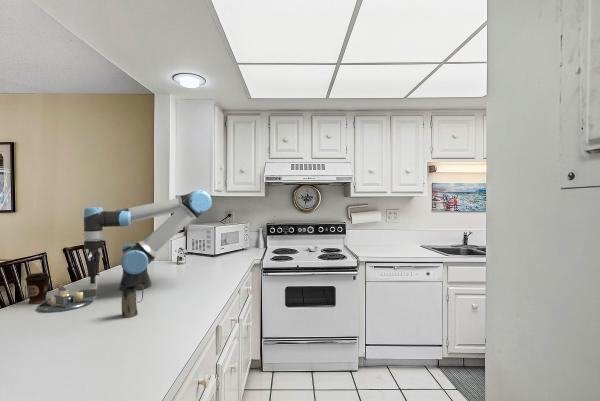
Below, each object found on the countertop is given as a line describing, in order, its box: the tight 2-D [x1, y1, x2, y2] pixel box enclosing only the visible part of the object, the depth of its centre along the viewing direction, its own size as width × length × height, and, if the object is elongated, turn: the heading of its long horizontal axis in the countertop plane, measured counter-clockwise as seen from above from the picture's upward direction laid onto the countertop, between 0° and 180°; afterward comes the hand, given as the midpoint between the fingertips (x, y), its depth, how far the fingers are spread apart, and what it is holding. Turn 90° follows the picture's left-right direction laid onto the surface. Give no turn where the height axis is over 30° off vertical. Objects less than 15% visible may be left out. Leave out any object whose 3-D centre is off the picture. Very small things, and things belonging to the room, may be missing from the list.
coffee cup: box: [24, 272, 50, 305], centre depth 149 cm, size 9×8×13 cm
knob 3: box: [74, 286, 98, 302], centre depth 147 cm, size 8×4×5 cm, turn 107°
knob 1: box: [58, 284, 70, 295], centre depth 150 cm, size 8×4×5 cm, turn 47°
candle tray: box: [37, 292, 94, 313], centre depth 145 cm, size 20×20×5 cm
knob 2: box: [50, 293, 67, 307], centre depth 139 cm, size 8×4×5 cm, turn 65°
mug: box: [121, 285, 144, 319], centre depth 131 cm, size 8×6×12 cm
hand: (93, 289), depth 154 cm, fingers closed
